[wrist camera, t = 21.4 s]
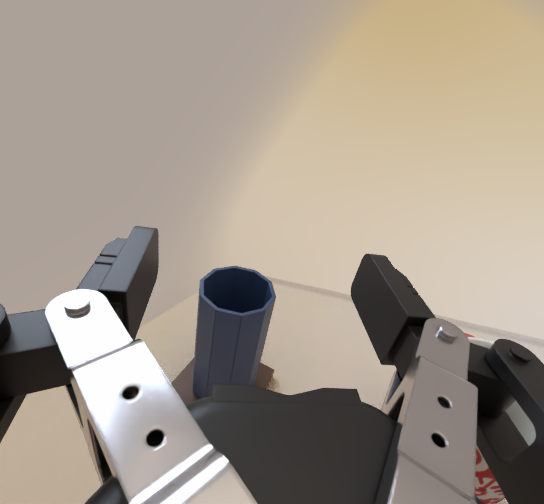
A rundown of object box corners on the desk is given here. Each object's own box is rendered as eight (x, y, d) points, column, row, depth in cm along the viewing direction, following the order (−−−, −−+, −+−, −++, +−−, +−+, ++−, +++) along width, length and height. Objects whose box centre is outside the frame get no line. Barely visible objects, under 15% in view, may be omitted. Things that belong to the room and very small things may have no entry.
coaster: (163, 397, 30) (163, 391, 30) (211, 343, 37) (212, 337, 36) (235, 441, 28) (236, 435, 27) (272, 375, 34) (274, 369, 34)
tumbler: (178, 390, 30) (182, 293, 24) (216, 346, 35) (227, 258, 29) (232, 422, 28) (251, 327, 22) (263, 372, 33) (286, 283, 27)
